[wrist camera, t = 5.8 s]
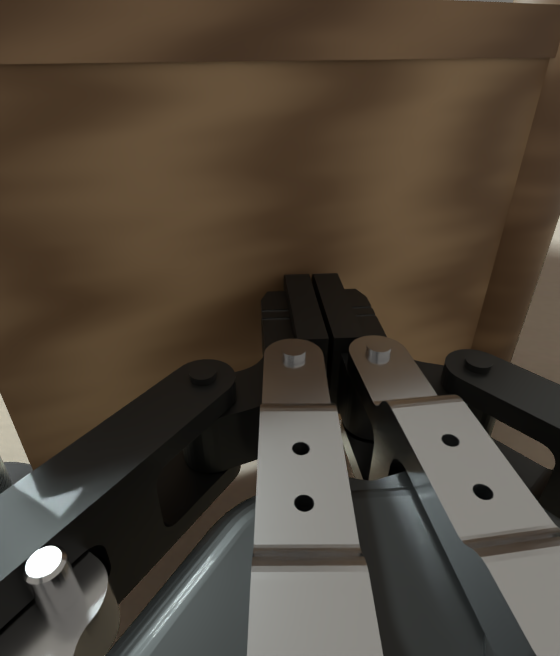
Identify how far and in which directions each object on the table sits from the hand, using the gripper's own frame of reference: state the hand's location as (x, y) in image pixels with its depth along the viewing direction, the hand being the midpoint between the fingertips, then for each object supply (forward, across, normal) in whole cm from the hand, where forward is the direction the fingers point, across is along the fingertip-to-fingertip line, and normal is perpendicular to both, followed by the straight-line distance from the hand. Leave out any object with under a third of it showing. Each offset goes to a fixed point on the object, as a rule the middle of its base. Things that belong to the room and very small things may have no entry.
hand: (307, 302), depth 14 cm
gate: (+1, 0, +6) cm, 6 cm away
